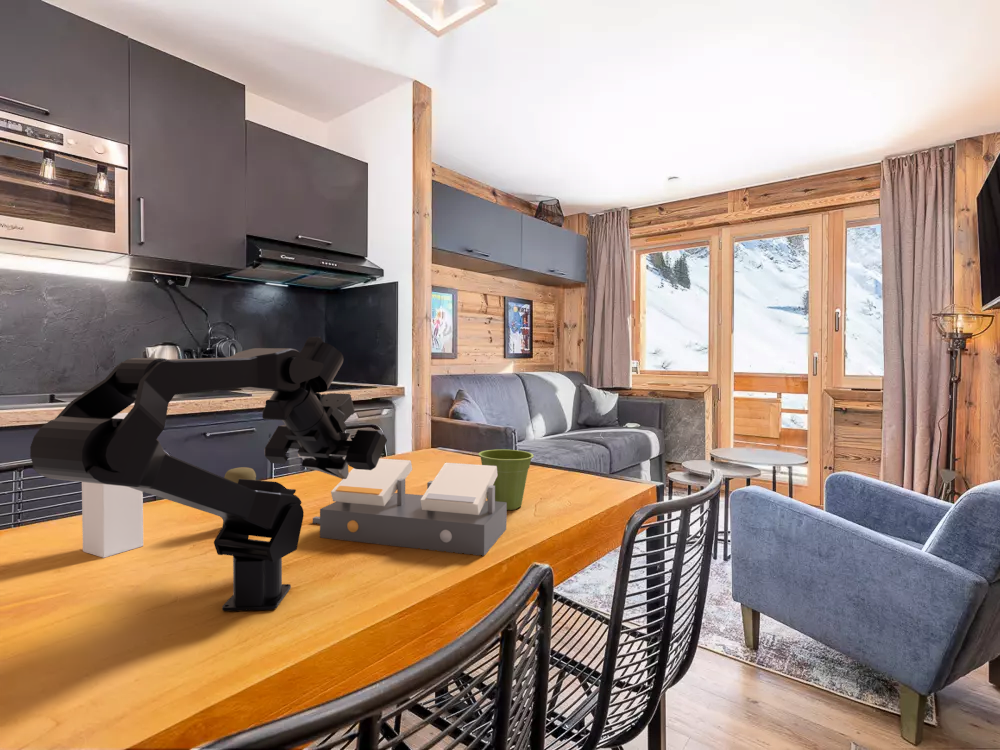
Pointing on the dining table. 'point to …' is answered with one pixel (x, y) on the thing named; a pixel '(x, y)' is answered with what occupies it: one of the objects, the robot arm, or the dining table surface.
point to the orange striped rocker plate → (372, 483)
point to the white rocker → (459, 488)
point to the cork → (240, 474)
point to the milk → (111, 517)
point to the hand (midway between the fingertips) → (345, 476)
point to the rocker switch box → (415, 524)
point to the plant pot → (508, 474)
